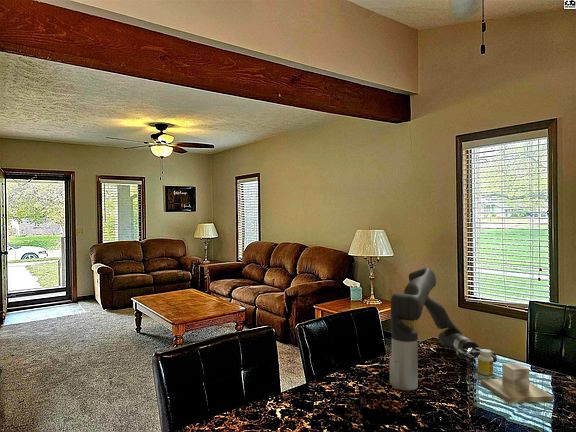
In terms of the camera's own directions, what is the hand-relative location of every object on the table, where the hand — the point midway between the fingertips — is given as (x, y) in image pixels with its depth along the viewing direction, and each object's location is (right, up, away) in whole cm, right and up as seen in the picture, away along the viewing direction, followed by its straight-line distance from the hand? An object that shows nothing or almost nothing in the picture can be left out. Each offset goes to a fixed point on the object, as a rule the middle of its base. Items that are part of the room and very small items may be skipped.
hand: (484, 360), depth 162 cm
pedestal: (+4, -6, -15) cm, 17 cm away
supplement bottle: (0, -6, -1) cm, 6 cm away
